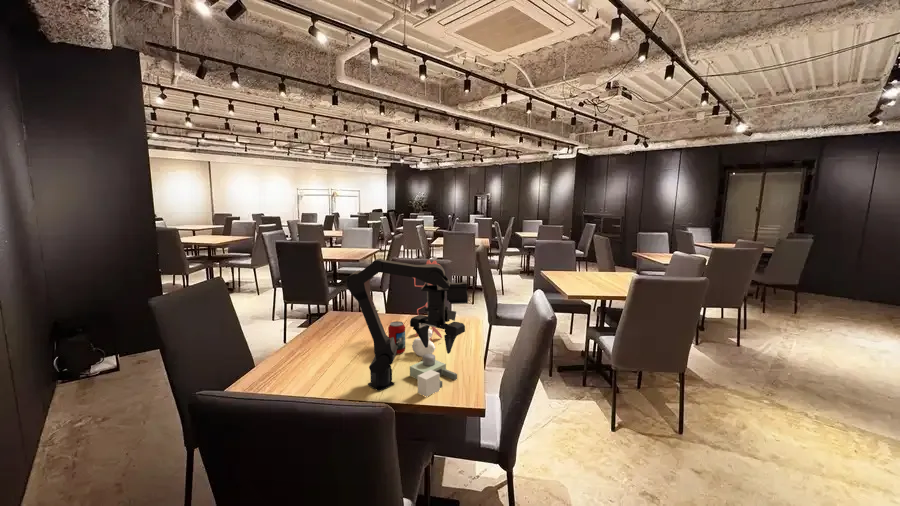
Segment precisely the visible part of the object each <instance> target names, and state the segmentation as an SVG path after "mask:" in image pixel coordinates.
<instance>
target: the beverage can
mask: <svg viewBox="0 0 900 506" xmlns="http://www.w3.org/2000/svg"><path fill="white" fill-rule="evenodd" d="M387 336H388V337H389V338H392V337H394V341H395V344H396V345H397V347H398V348H397V353H396V355H400V354H402V353H404V352H405V351H406V326H405V324H404V322H403V321H398V320H397V321H393V322H390V324H389V325H388V335H387Z"/></svg>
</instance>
